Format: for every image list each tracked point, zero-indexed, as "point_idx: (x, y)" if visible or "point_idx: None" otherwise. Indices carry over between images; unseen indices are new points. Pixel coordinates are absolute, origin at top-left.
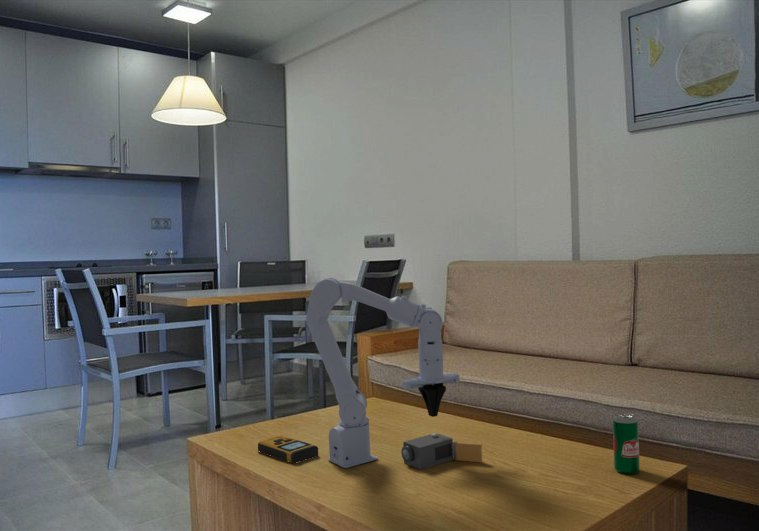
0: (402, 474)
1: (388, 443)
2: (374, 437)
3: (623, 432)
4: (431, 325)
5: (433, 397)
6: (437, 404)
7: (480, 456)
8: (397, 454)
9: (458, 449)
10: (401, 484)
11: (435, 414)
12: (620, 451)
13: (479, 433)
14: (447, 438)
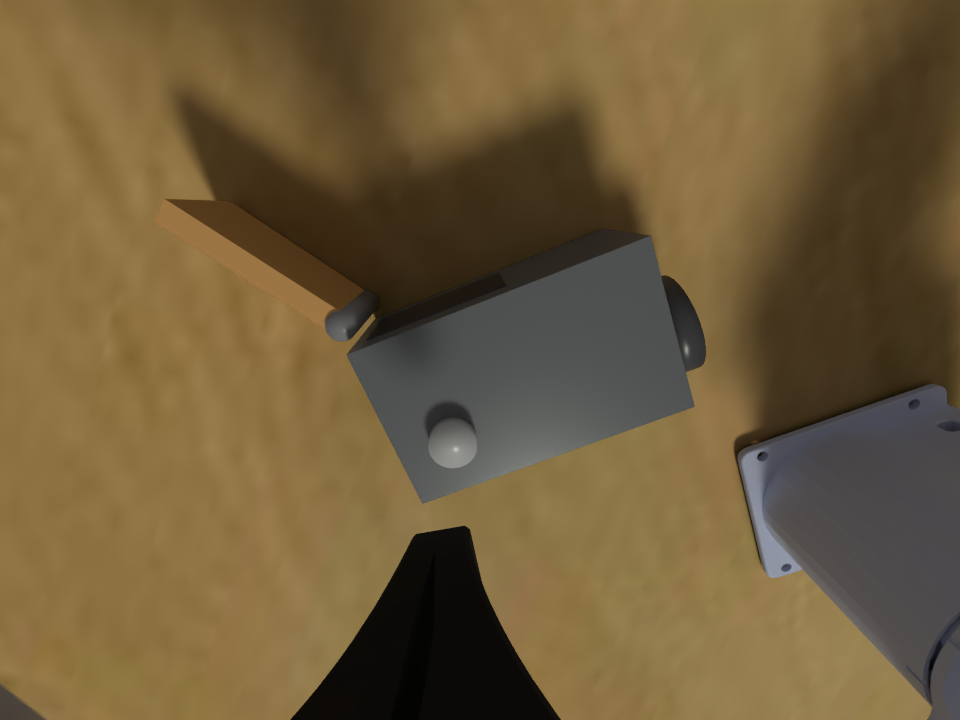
0: (719, 196)
1: (598, 634)
2: (624, 715)
3: None
4: None
5: (464, 705)
6: (397, 621)
7: (217, 203)
8: (619, 489)
9: (335, 292)
10: (796, 32)
11: (435, 539)
12: None
13: (130, 632)
14: (382, 365)
